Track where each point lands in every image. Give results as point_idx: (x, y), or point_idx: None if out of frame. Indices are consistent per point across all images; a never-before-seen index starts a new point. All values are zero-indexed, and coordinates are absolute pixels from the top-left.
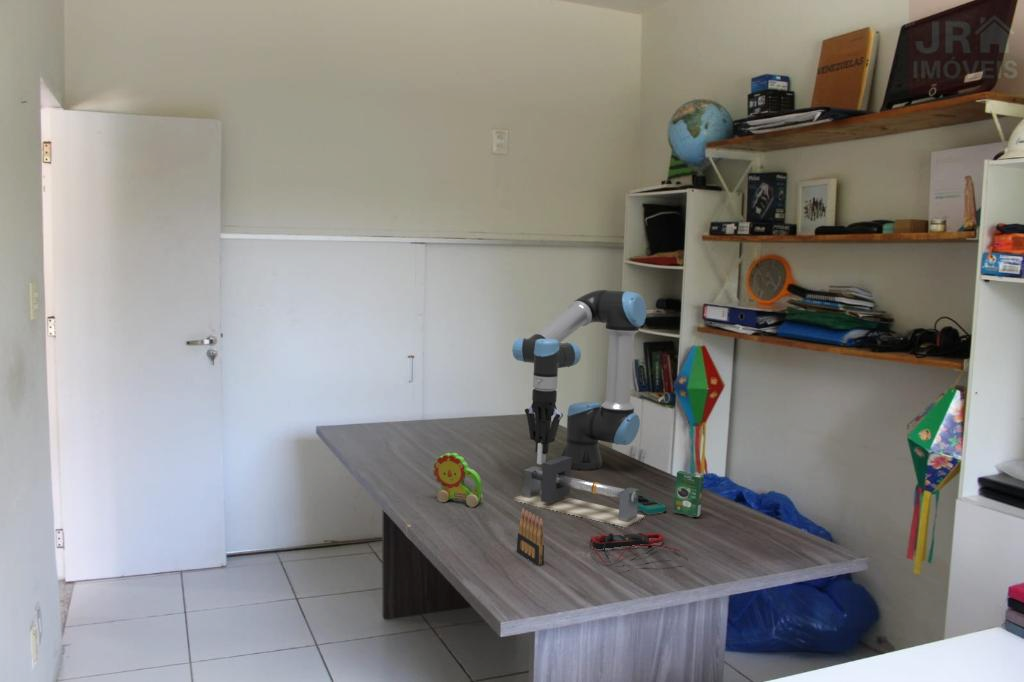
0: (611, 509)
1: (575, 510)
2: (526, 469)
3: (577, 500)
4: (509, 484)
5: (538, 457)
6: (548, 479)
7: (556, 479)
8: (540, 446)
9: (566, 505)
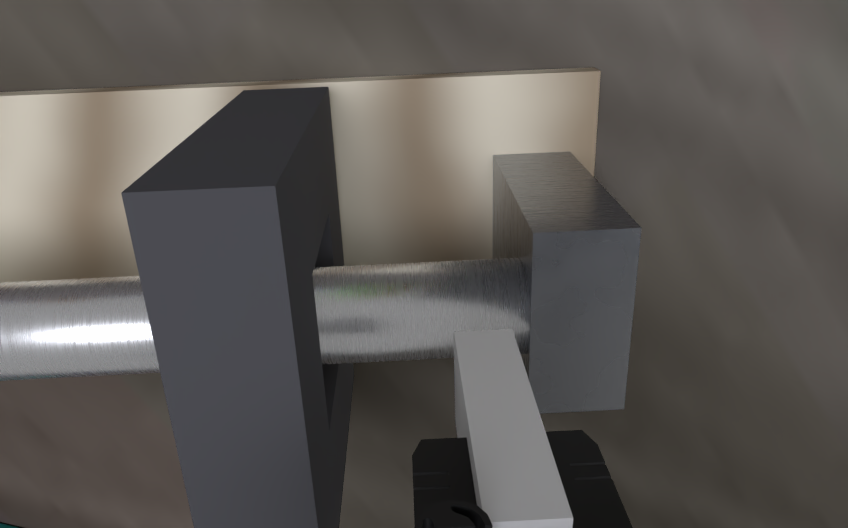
0: None
1: (43, 151)
2: (621, 267)
3: None
4: (817, 365)
5: (504, 374)
6: (214, 135)
7: None
8: (504, 487)
9: None
